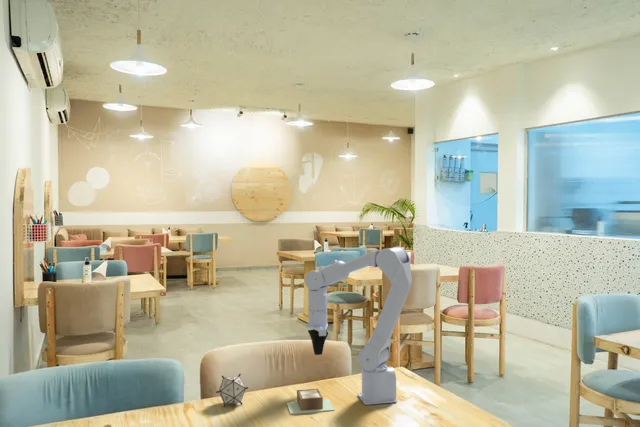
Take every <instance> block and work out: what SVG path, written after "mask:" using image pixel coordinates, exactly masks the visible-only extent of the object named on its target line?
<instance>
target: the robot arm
mask: <svg viewBox="0 0 640 427" xmlns="http://www.w3.org/2000/svg"><path fill="white" fill-rule="evenodd" d="M411 260H412V259H411V258H410V255H409V254H408V251H407V250H406V249H405V248H403V247H402V246H393V247H389V248H382V249H379V250H378V249H377V250H374V251H370V252H367V253H365V254H363V255H360V256H358V257H356V258H353V259H351V260H349V261H346V262H345V261H343V260H337V259H335V260H332V261H331V263H330V264H328V265H325V266H324V265H320V266H319V267H318V268H319V269H315V270H314V269H313V270H310V271H308V272H307V274H306V275H305V276H304V283H305V286H306V288H308V293H307V296H308V297H307V298H308V305H307V306H308V323H304V328H309V329H308V330H307V332H308V334H309V336H310V340H311V344H312V349H313V354H314V355H315V356H318V355H319V356H320V355H321V356H322V355H323V352H324V347H325V344H326V340H327V337H328V335H329V332H328V330H327V329H328V327H329V325H328V324H329V323H328V287H329V286H331V285H334V284H336V283H339V282H341V281H344V280H347V279H348V278H349V276H350V273H352V272H355V271H358V270H361V269H364V268H367V267H369V266H371V267H373V268H379V269H380V271H381V272H382V273H383V274H384V275H385V276H386V277H387V278H388V280H389V282H390V284H391V286H390V289H389V292H388V294H387V296H386V298H385V301H384V304H383V306H382V308H381V311H380V315H378V316H379V317H378V319H377V322H376V325H375V327H374V330H373V331H372V334H371V336H370V337H369V339H368V340H367V342H366V343H365V346H364V347H363V348H362V349H361V350H360V351H359V353H358V354H357V361H358V364H359V366H360V367H361V392H358V393H357V397H358V398H359V399H360V400H361V401H362V403H363V404H364V405H365V406H366V405H367V406H370V405H380V404H390V403H397V402H398V400H397V377H396V376H397V375H396V371H395V368H393V366H388V364H387V361H388V360H389V359H390V356H391V349H390V348H391V345H392V341H391V338H392V336H393V333H394V330H395V328H396V325H397V324H398V322H399V319H400V316H401V313H402V311H403V309H404V305H405V304H406V300H407V299H408V296H409V293H410V290H411V289H412V285H413V278H412V277H413V276H412V268H411V262H412V261H411Z"/></svg>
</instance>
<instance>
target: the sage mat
mask: <svg viewBox="0 0 640 427" xmlns="http://www.w3.org/2000/svg"><path fill="white" fill-rule="evenodd" d="M286 405H287V408H288V411H289V413H290V415H298V414H300V415H301V414H310V413H311V414H312V413H321V412H322V413H323V412H332V411H333V412H334V411H335V408H334V406H333V405H332V402H331V401H330V399H328V398H325V399H323V409H314V410H302V411H301V409H300V407H299V405H298V402H297V401H291V402H290V401H289V402H286Z"/></svg>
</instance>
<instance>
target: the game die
mask: <svg viewBox="0 0 640 427" xmlns="http://www.w3.org/2000/svg"><path fill="white" fill-rule="evenodd" d="M241 375H242V374H241V373H239V374H238V375H236V376H235V375H234V376H228V377H227V376H224V375H221V378H222V379H221V384H220V386H219V389H218V390H216V391H215V393H216V394H218V395H219V396H220V398H221V400H222V402H223V403H224V404H223V408H224V407H226V405H232V404H238V403H240V405H243V402H242V400H243V397H244V395H245V393H246V390H248V389H249V387H248V386H245V384H244V382H243V380H242V379H241Z"/></svg>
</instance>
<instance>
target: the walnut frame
mask: <svg viewBox="0 0 640 427" xmlns="http://www.w3.org/2000/svg"><path fill="white" fill-rule="evenodd" d="M323 400H324V397H323V395H322V394H321V392H320V390H319V389H318V388H311V389H310V388H309V389H297V390H296V402H298V405H299V407H300V409H301V411H302V410H314V409H323Z"/></svg>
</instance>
